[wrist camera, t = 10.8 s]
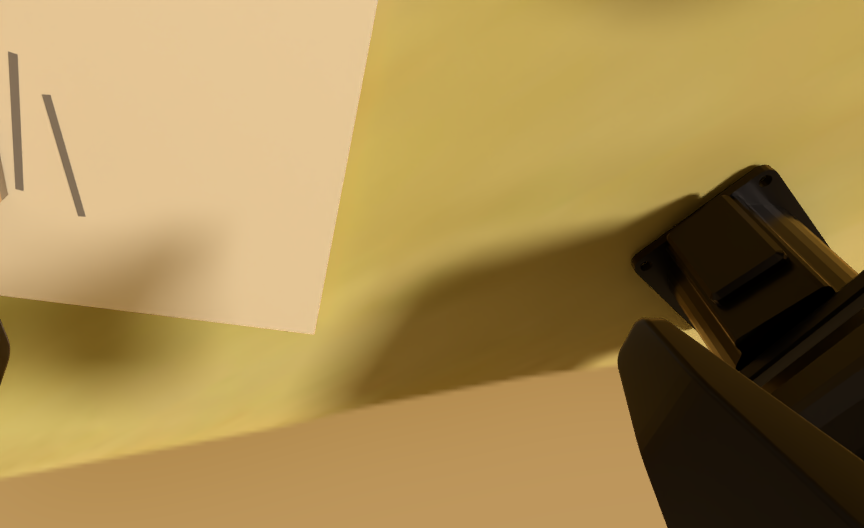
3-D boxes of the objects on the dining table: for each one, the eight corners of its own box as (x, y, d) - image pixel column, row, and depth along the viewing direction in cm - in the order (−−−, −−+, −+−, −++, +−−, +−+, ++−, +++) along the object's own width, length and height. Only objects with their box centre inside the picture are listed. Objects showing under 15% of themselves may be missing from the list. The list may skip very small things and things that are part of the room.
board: (379, -18, 17) (380, -11, 16) (316, 318, 25) (314, 334, 24) (-615, -283, 12) (-685, -292, 11) (-304, 238, 20) (-332, 254, 19)
